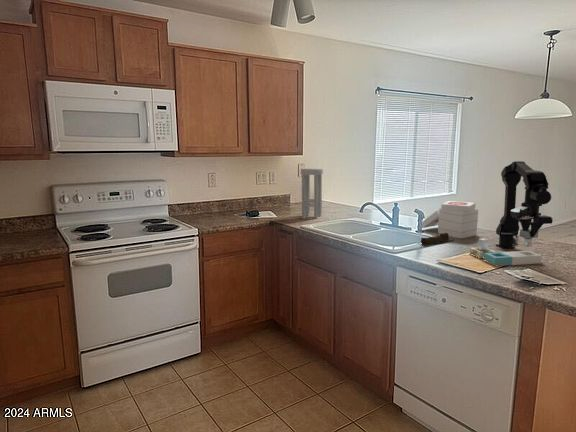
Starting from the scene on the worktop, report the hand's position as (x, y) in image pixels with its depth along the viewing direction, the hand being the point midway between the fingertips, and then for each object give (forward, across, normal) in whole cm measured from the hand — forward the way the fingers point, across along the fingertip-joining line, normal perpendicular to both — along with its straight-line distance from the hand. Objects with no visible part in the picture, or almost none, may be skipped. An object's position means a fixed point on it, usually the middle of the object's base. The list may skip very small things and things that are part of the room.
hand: (528, 235), depth 177 cm
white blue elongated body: (+12, -39, +21) cm, 45 cm away
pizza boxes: (+12, -59, -4) cm, 61 cm away
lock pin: (+12, -11, -14) cm, 21 cm away
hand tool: (+12, -39, -23) cm, 47 cm away
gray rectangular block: (+4, 0, 0) cm, 4 cm away
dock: (+12, 0, -6) cm, 13 cm away
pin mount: (+12, -11, -14) cm, 21 cm away
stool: (+12, -126, -73) cm, 146 cm away
